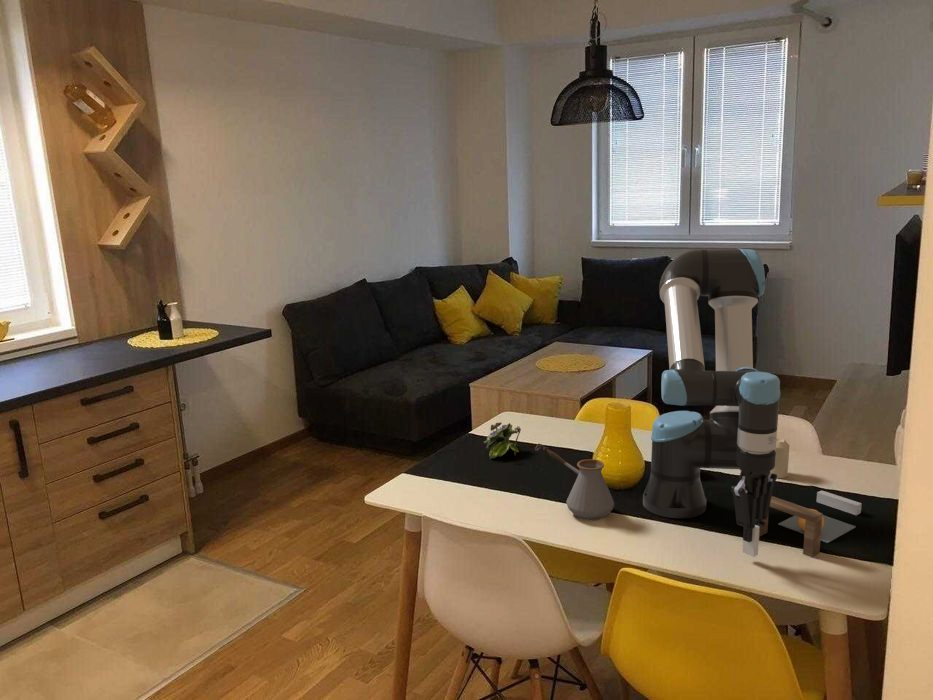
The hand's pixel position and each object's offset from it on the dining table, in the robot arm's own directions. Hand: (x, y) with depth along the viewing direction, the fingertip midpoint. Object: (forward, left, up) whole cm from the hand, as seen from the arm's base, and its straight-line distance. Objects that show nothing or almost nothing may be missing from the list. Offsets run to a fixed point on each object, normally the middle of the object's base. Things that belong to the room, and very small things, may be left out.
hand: (750, 553), depth 166 cm
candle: (-23, +46, -2) cm, 51 cm away
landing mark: (0, +26, -2) cm, 26 cm away
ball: (+1, +22, +1) cm, 22 cm away
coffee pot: (-43, -10, -2) cm, 44 cm away
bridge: (0, +13, -2) cm, 13 cm away
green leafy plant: (-83, +1, -2) cm, 83 cm away
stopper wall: (-2, +39, -2) cm, 39 cm away
